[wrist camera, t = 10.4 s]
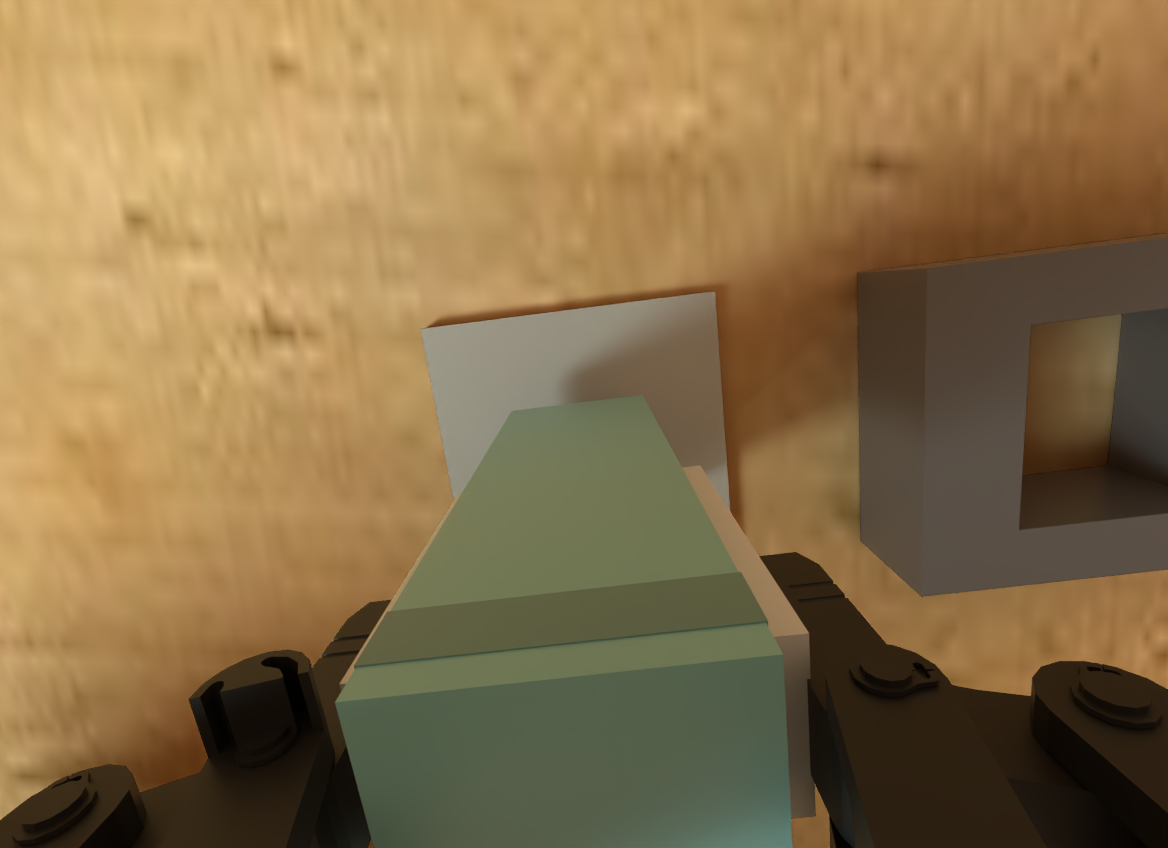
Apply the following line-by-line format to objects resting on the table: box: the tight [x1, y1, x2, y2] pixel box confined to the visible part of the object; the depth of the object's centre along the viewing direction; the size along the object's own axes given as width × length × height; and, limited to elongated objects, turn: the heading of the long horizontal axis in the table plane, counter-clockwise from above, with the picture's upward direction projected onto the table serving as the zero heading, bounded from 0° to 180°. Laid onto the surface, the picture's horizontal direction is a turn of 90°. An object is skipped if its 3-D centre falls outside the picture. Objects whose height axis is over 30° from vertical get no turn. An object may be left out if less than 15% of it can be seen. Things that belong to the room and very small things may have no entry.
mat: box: [421, 291, 730, 511], centre depth 20 cm, size 10×10×1 cm
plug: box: [335, 395, 793, 848], centre depth 12 cm, size 4×4×13 cm
